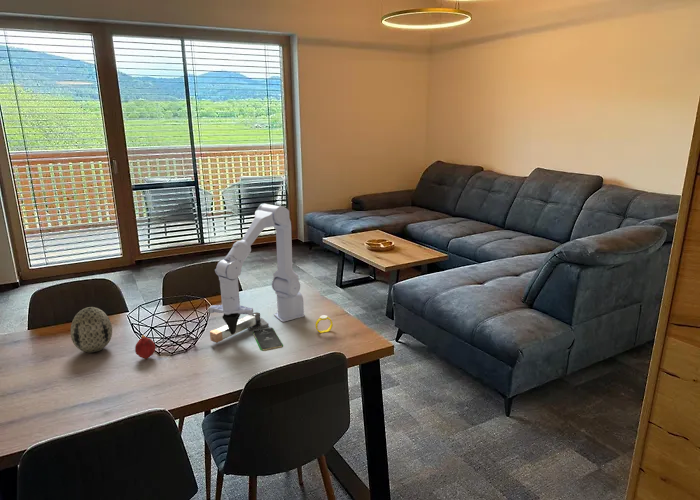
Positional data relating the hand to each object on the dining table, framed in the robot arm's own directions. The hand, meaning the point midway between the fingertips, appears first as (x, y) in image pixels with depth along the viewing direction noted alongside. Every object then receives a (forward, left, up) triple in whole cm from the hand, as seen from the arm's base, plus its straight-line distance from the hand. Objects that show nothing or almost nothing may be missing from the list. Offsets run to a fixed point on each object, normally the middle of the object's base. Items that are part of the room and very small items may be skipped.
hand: (233, 332), depth 158 cm
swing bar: (-3, -4, -2) cm, 5 cm away
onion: (+27, -4, -3) cm, 28 cm away
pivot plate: (-11, -7, -3) cm, 13 cm away
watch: (-29, +11, -3) cm, 31 cm away
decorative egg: (+40, -19, -3) cm, 44 cm away
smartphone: (-10, +5, -4) cm, 12 cm away
